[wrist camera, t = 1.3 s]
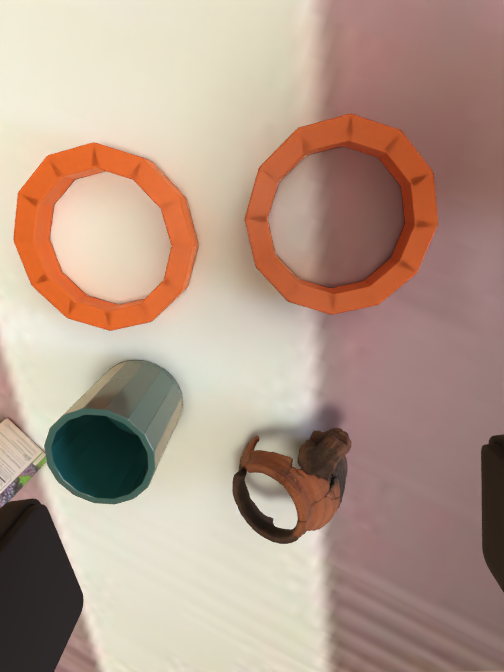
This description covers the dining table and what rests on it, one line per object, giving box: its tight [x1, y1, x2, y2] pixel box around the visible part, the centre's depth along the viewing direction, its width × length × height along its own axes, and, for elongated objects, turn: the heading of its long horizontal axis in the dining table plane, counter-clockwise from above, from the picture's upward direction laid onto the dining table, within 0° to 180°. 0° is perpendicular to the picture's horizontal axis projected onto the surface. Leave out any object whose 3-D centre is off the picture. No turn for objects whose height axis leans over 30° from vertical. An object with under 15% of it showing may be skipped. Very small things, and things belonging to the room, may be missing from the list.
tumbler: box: [44, 360, 183, 504], centre depth 32 cm, size 8×8×9 cm
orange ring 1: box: [14, 143, 198, 331], centre depth 30 cm, size 13×13×2 cm
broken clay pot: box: [233, 428, 351, 544], centre depth 34 cm, size 12×9×8 cm
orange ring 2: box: [245, 114, 438, 314], centre depth 29 cm, size 13×13×2 cm
